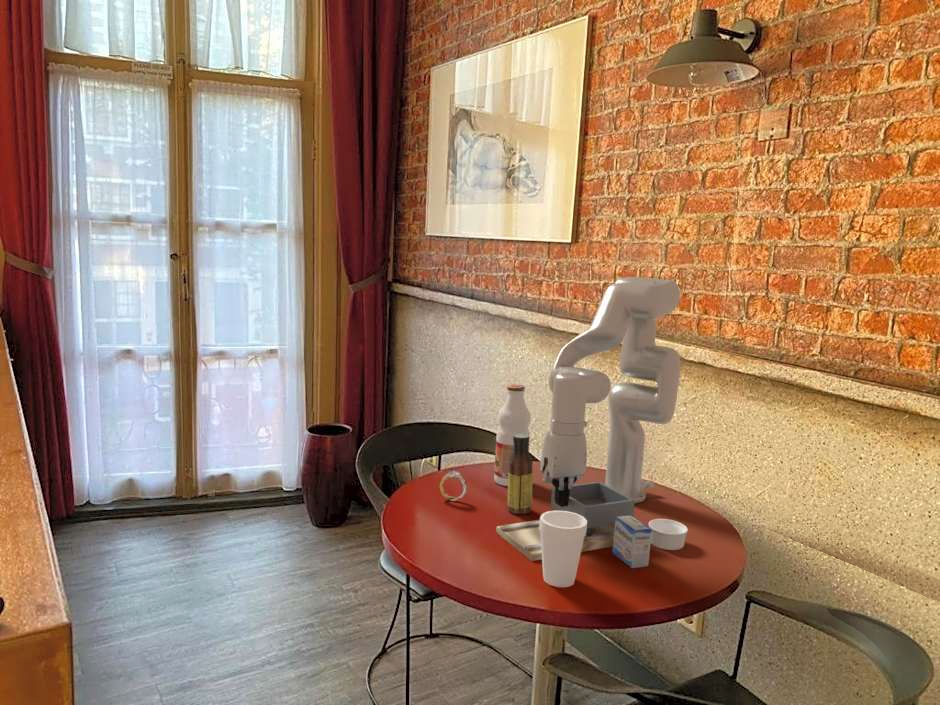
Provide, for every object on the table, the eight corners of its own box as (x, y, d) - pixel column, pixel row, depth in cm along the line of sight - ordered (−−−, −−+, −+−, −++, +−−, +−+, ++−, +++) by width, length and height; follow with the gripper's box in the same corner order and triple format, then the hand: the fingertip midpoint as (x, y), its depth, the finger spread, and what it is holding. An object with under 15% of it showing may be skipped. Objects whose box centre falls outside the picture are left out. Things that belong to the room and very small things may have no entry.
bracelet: (466, 500, 186) (468, 471, 185) (463, 504, 183) (465, 475, 182) (441, 496, 188) (443, 467, 187) (437, 500, 185) (439, 471, 184)
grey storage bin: (597, 509, 178) (599, 481, 177) (632, 530, 166) (634, 500, 165) (549, 516, 172) (552, 487, 170) (582, 539, 160) (585, 507, 158)
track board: (599, 516, 180) (600, 508, 180) (641, 541, 166) (642, 532, 166) (496, 532, 167) (496, 523, 166) (531, 561, 153) (532, 551, 152)
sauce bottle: (531, 507, 184) (536, 433, 180) (531, 516, 177) (536, 439, 174) (506, 505, 184) (510, 431, 181) (505, 514, 178) (509, 437, 175)
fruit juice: (513, 490, 196) (519, 390, 192) (487, 481, 202) (492, 384, 198) (533, 482, 203) (539, 386, 199) (507, 474, 209) (513, 381, 205)
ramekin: (690, 542, 167) (692, 524, 166) (680, 555, 160) (682, 537, 159) (653, 532, 172) (654, 515, 171) (642, 545, 164) (643, 527, 163)
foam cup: (579, 571, 149) (584, 512, 147) (585, 592, 140) (590, 530, 138) (534, 567, 149) (538, 509, 147) (536, 589, 140) (541, 526, 138)
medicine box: (611, 553, 159) (614, 516, 157) (628, 551, 160) (631, 514, 159) (631, 569, 151) (634, 530, 150) (649, 566, 153) (652, 528, 152)
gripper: (584, 421, 168) (578, 495, 170) (530, 425, 161) (525, 502, 164) (603, 429, 161) (597, 506, 164) (548, 434, 154) (542, 514, 157)
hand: (561, 504), depth 164 cm, fingers closed
